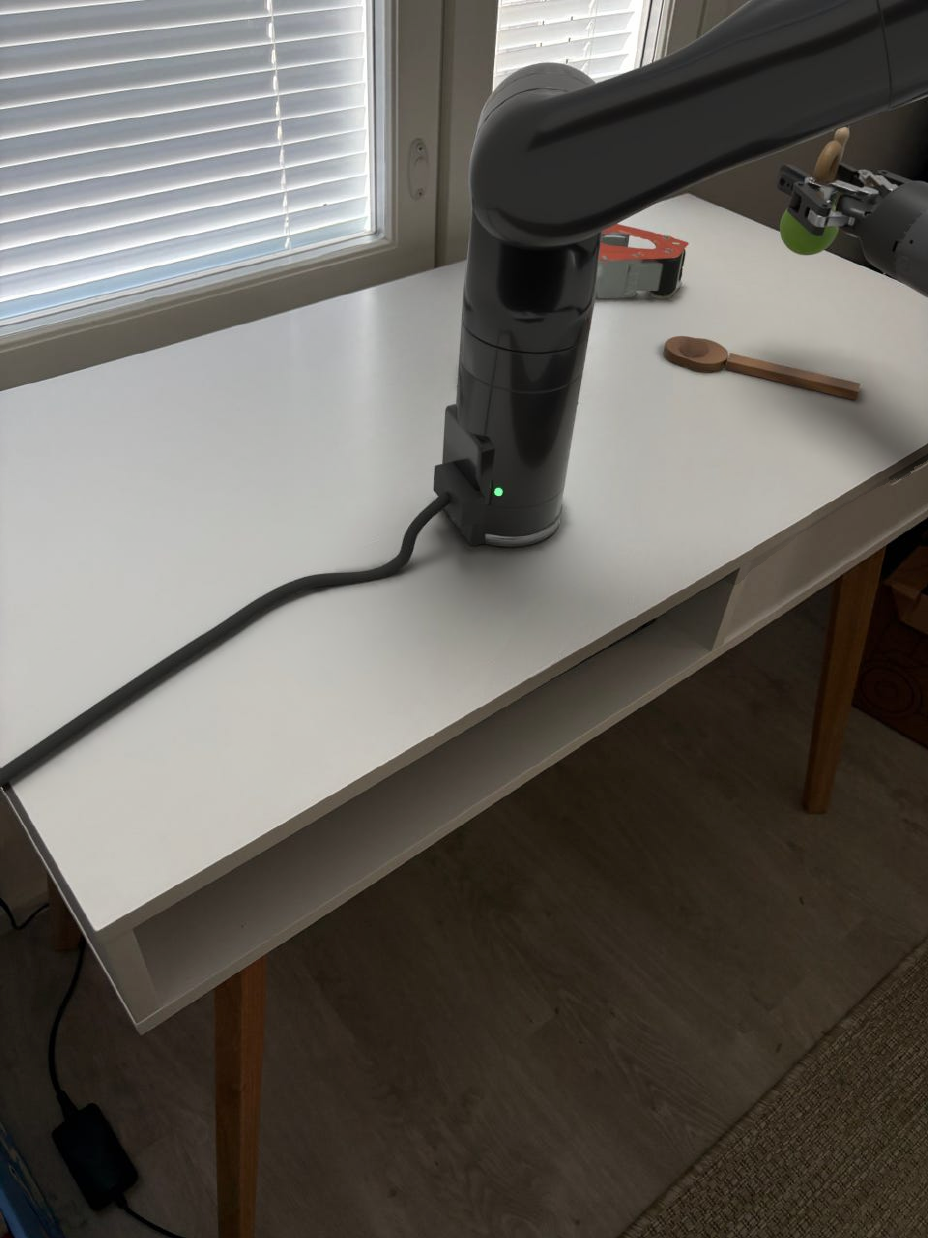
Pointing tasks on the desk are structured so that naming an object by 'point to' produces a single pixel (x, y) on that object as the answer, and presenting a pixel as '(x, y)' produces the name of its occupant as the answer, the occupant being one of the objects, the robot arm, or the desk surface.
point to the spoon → (751, 366)
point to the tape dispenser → (638, 264)
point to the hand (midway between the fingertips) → (804, 172)
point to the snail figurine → (826, 171)
